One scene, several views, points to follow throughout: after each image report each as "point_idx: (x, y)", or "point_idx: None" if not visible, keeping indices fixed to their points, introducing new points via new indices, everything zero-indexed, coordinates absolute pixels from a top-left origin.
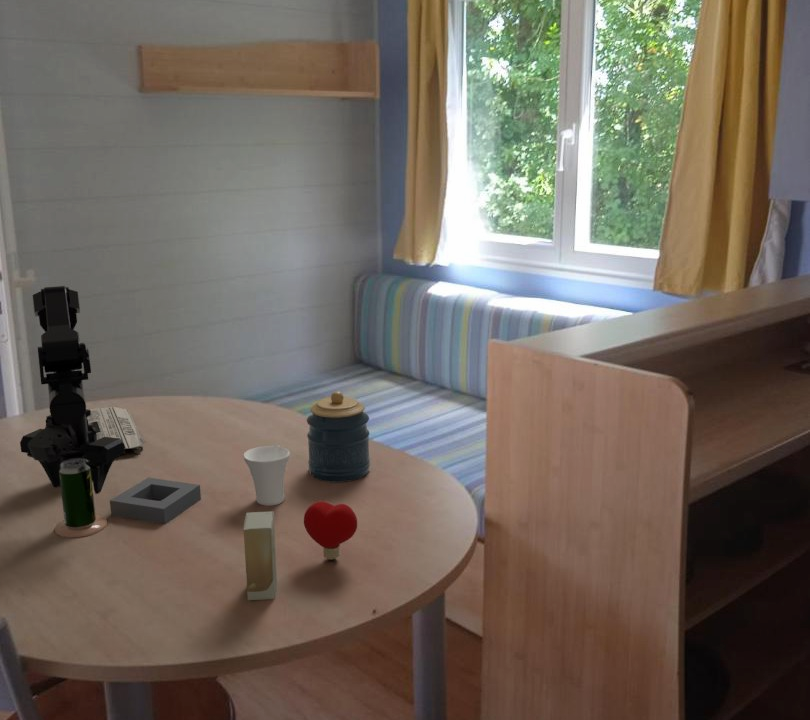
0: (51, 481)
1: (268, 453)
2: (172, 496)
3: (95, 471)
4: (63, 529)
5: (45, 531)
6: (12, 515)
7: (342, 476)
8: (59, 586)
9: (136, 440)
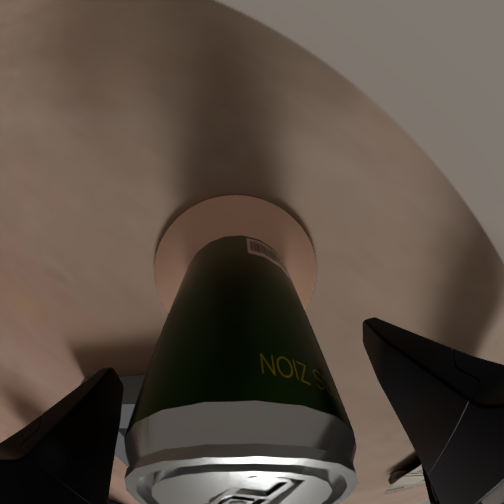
0: (393, 329)
1: None
2: (124, 446)
3: (15, 443)
4: (256, 225)
5: (312, 193)
6: (463, 220)
7: None
8: (16, 51)
9: (406, 483)
